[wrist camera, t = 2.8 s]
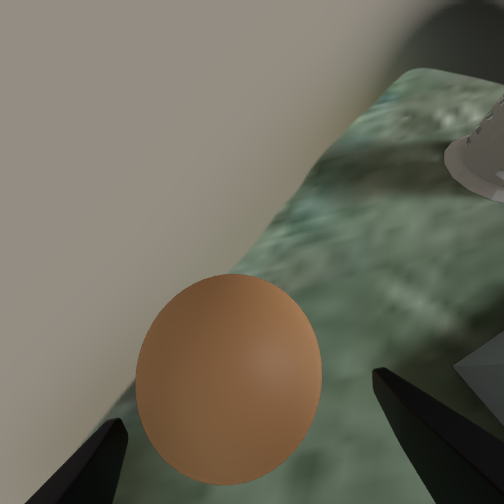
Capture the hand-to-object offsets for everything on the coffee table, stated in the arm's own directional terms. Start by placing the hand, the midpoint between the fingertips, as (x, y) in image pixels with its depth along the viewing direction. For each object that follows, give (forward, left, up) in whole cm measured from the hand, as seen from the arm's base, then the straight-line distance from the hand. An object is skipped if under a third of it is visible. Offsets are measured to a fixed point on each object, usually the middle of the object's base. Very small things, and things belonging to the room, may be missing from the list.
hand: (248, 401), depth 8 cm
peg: (0, +1, -9) cm, 9 cm away
